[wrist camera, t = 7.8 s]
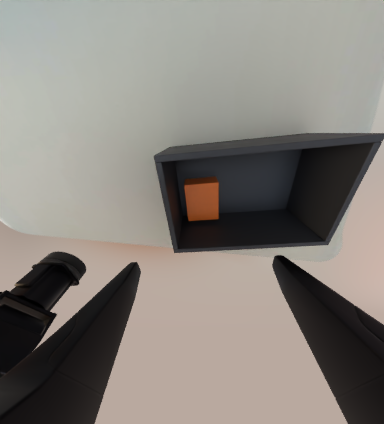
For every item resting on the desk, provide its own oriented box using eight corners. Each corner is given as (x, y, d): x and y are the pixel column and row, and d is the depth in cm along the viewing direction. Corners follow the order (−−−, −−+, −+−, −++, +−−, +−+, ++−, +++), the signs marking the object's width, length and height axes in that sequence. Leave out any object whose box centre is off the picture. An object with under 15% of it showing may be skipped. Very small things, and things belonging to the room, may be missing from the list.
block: (216, 210, 20) (218, 219, 18) (189, 212, 21) (188, 221, 18) (215, 176, 18) (218, 182, 16) (185, 178, 18) (183, 185, 16)
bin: (286, 209, 21) (328, 245, 14) (180, 217, 22) (174, 253, 15) (307, 133, 16) (387, 133, 9) (169, 146, 17) (153, 155, 10)
